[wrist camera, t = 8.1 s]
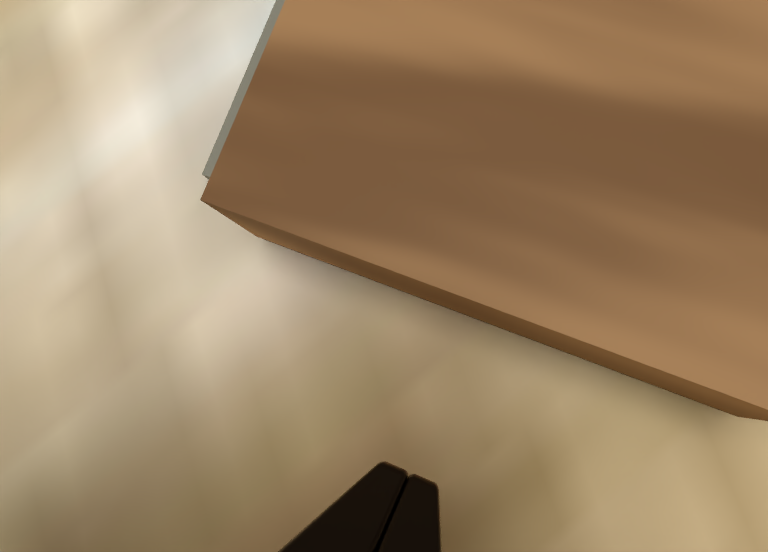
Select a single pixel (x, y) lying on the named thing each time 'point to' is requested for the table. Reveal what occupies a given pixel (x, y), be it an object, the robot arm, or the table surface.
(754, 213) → the slab
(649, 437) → the table surface
